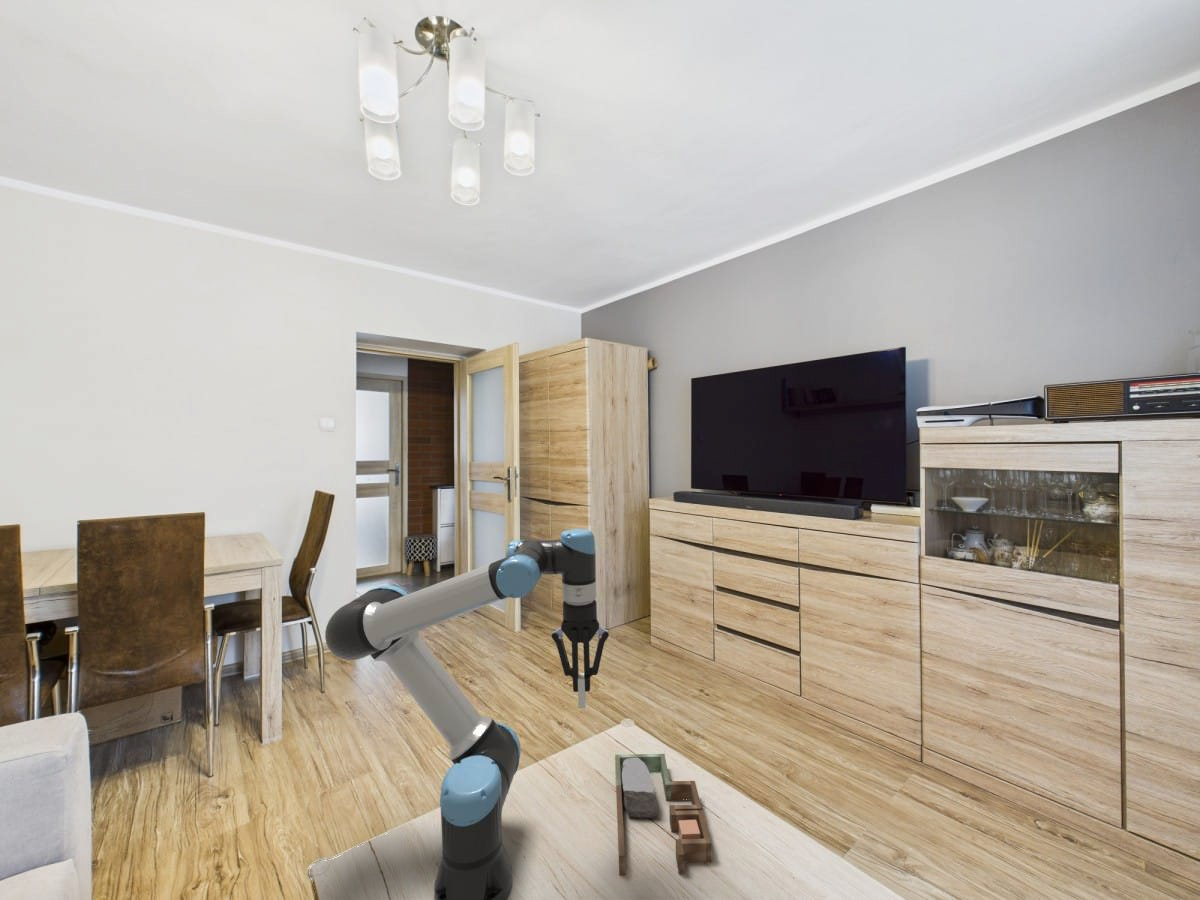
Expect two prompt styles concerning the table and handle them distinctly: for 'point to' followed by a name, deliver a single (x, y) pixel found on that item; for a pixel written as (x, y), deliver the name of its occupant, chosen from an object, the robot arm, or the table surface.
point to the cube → (688, 829)
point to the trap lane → (673, 791)
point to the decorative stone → (638, 790)
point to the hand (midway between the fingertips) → (582, 705)
